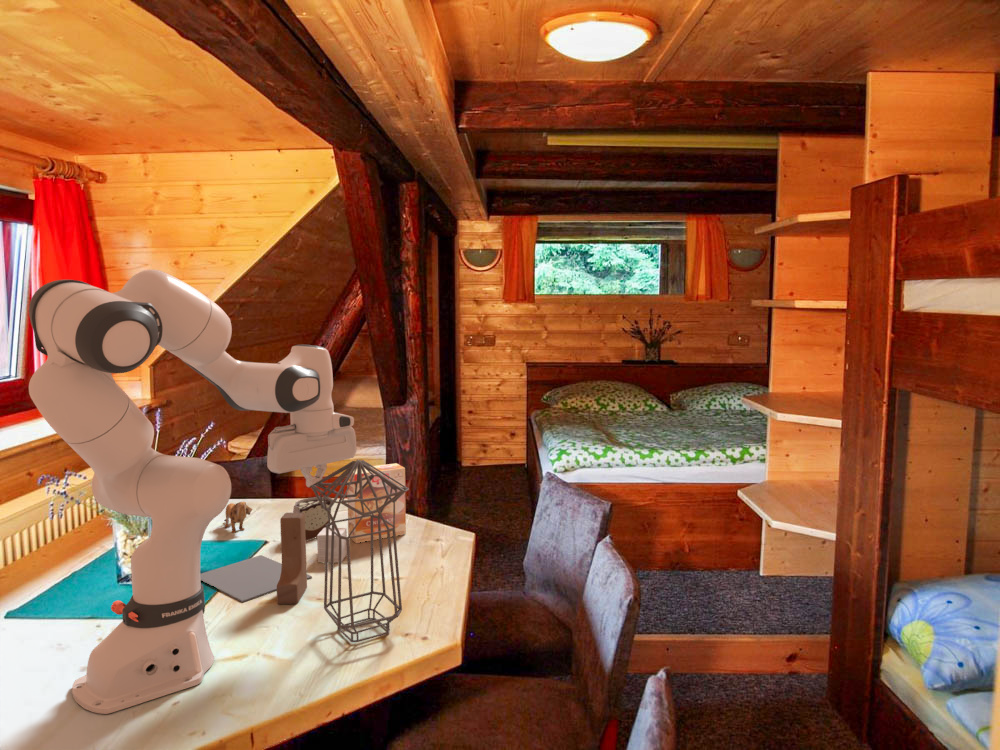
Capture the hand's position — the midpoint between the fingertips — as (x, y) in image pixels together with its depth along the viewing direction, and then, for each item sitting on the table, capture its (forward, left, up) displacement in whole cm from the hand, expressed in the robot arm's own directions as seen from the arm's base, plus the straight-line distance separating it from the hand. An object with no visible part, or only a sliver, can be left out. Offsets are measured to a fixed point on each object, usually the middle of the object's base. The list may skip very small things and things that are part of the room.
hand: (314, 485), depth 150 cm
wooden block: (0, +9, -27) cm, 29 cm away
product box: (+20, +21, -27) cm, 40 cm away
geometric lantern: (-1, -16, -27) cm, 32 cm away
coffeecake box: (+39, +26, -27) cm, 54 cm away
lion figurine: (+17, +63, -27) cm, 71 cm away
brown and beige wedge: (+27, +41, -27) cm, 56 cm away
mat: (0, +26, -27) cm, 37 cm away
